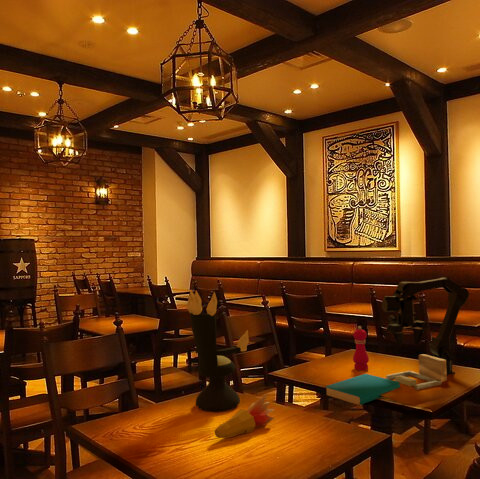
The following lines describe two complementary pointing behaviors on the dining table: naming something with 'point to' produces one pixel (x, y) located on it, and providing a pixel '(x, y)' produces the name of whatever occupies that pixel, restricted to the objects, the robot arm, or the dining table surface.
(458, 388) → the dining table surface
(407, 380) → the offcut top
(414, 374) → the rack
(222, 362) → the candelabra
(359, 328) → the pepper mill
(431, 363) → the sheet
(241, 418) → the torch
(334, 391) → the book
